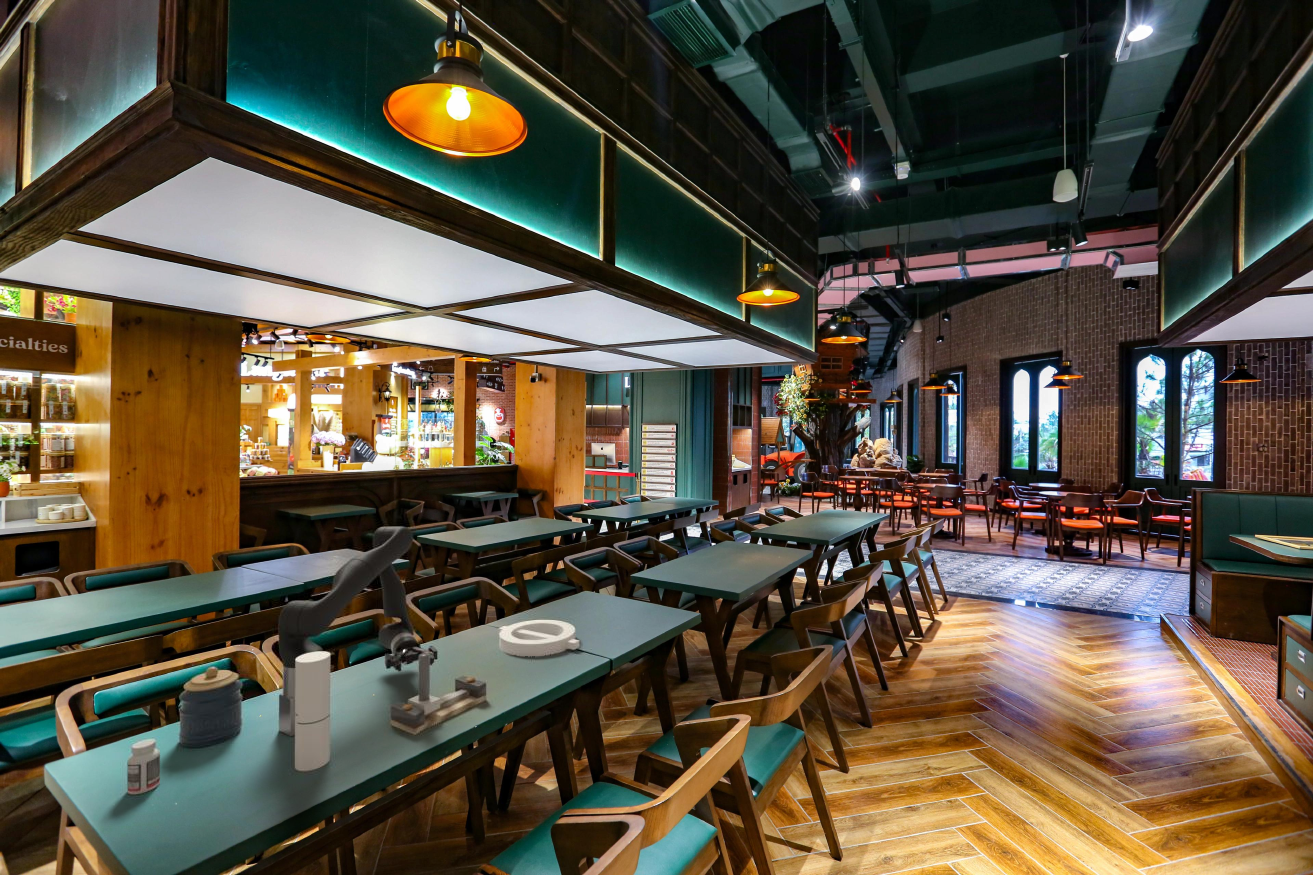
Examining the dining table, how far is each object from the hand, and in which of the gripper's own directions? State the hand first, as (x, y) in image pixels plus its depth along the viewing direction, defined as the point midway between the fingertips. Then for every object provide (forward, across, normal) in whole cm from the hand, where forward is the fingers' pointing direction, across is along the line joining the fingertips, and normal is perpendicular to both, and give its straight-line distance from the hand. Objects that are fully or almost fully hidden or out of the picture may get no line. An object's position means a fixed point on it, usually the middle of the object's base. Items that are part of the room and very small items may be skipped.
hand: (415, 664), depth 168 cm
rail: (+9, +5, +12) cm, 15 cm away
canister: (-10, -48, +12) cm, 50 cm away
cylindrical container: (+19, -27, +12) cm, 35 cm away
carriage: (+11, 0, +8) cm, 14 cm away
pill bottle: (+11, -58, +12) cm, 60 cm away
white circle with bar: (-30, +49, +12) cm, 59 cm away
